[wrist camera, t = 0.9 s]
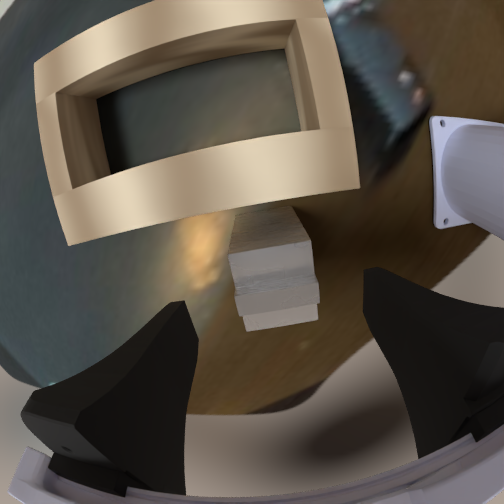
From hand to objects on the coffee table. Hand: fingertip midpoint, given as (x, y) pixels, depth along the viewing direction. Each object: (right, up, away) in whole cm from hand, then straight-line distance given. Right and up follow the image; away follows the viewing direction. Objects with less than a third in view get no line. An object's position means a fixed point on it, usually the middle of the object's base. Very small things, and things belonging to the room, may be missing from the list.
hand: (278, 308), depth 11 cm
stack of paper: (0, +3, +7) cm, 7 cm away
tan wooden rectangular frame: (-5, +10, +4) cm, 12 cm away
